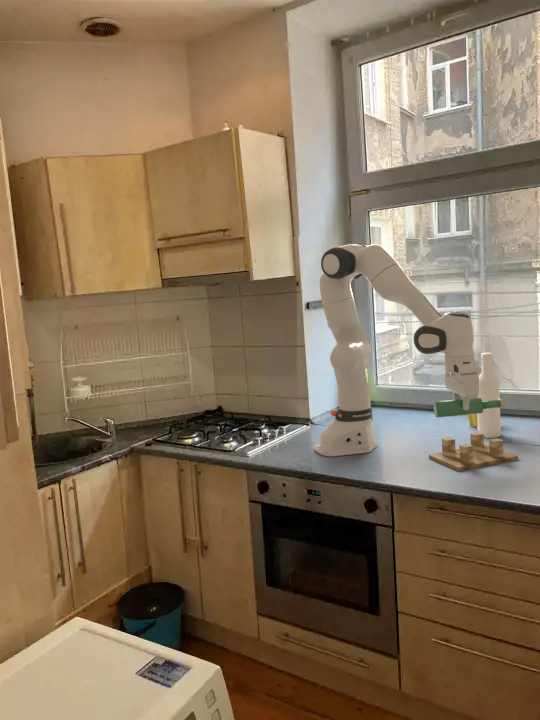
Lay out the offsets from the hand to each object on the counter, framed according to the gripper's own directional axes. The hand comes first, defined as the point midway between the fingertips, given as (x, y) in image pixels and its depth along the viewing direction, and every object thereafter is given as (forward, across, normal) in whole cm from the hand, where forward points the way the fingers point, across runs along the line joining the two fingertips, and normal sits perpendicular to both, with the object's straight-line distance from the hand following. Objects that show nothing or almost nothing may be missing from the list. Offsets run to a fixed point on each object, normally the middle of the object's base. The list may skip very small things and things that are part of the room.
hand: (461, 407), depth 194 cm
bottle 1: (+2, 0, +2) cm, 3 cm away
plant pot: (+18, -42, +21) cm, 50 cm away
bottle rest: (+17, -2, +3) cm, 18 cm away
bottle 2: (+18, -27, +19) cm, 37 cm away
